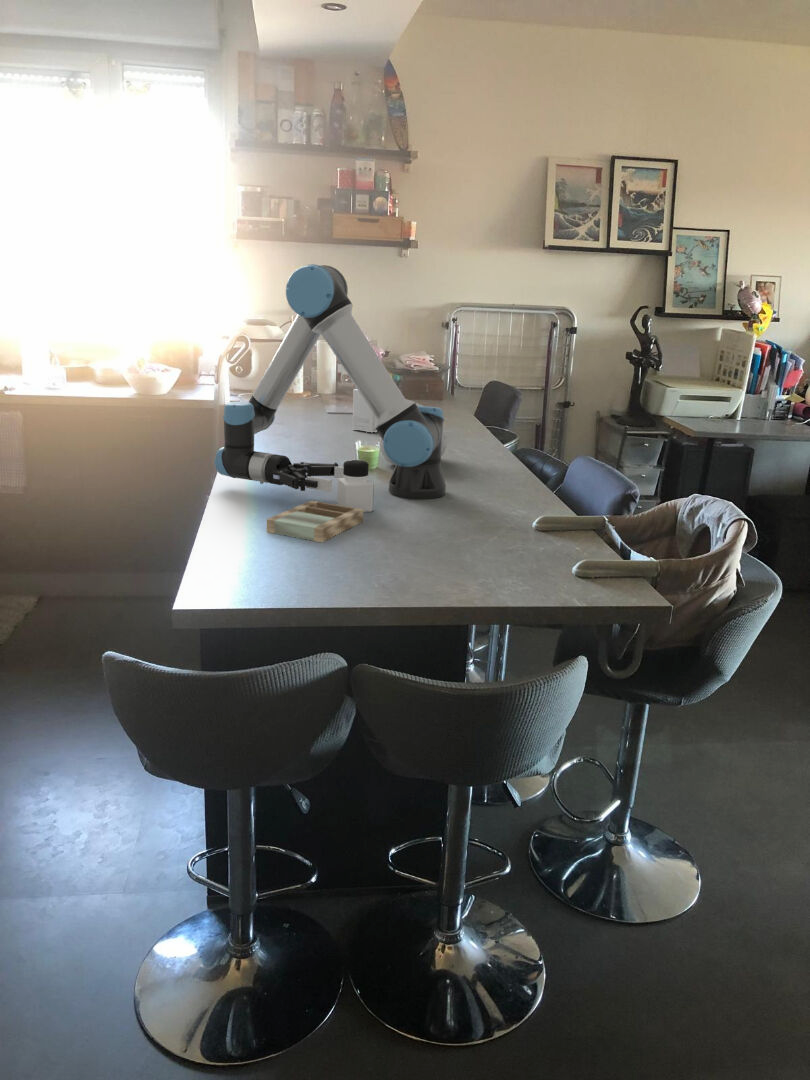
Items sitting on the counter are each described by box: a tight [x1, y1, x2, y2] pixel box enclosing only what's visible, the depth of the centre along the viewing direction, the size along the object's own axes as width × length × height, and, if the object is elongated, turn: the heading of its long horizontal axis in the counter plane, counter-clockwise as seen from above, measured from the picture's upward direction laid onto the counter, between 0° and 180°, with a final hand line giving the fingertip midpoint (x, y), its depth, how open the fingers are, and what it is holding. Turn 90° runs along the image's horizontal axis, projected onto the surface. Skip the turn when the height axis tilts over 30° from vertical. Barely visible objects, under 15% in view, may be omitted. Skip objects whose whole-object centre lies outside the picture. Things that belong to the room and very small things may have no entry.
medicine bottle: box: [336, 459, 375, 513], centre depth 211 cm, size 7×7×12 cm
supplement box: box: [352, 388, 376, 431], centre depth 313 cm, size 9×9×15 cm
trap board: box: [266, 500, 364, 543], centre depth 196 cm, size 19×14×3 cm
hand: (344, 480), depth 212 cm, fingers open, 13 cm apart
